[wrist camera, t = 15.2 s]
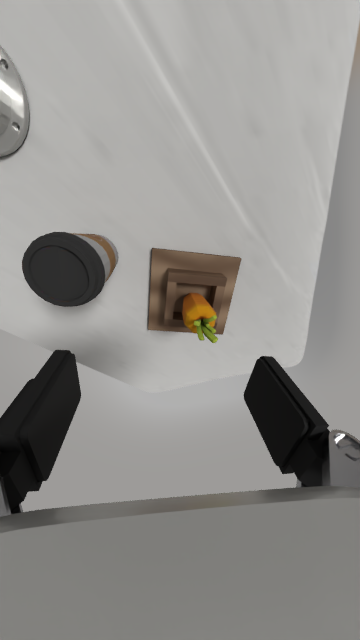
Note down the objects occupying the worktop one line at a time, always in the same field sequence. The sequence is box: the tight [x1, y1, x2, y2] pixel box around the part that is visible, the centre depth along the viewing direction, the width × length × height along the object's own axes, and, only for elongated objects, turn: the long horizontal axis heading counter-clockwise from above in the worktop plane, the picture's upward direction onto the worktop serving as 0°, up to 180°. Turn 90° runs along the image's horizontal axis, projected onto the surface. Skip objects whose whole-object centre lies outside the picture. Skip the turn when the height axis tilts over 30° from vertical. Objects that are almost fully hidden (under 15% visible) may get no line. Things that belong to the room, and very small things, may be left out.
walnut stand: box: [148, 248, 241, 334], centre depth 37 cm, size 16×16×4 cm
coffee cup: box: [22, 232, 118, 306], centre depth 28 cm, size 8×8×15 cm
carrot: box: [182, 293, 218, 343], centre depth 31 cm, size 5×5×15 cm
